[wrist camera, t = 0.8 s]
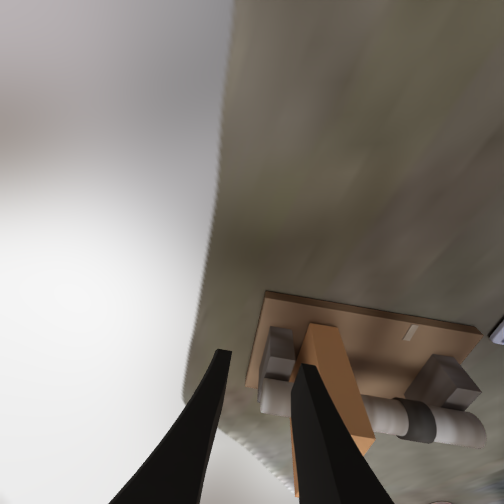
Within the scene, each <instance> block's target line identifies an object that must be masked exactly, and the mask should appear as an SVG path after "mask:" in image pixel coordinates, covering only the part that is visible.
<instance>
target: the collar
mask: <svg viewBox="0 0 504 504" xmlns="http://www.w3.org/2000/svg"><path fill="white" fill-rule="evenodd" d="M301 363H304V364H310V365H315V366H316V367H317V369H318V372H319V374H320V376H321V378H322V380H323V382H324V385H325V387H326V389H327V391H328V393H329V395H330V397H331V399H332V401H333V403H334V405H335V407H336V409H337V411H338V413H339V414H340V416H341V418H342V420H343V422H344V424H345V426H346V428H347V429H348V431H349V433H350V435H351V436H352V438H353V440H354V442H355V443H356V445H357V447H358V448H359V450H360V452H361V453H362V455H363V456H364V455H365V453H366V452H367V450H368V449H369V448H370V446H371V445H372V444H373V442H374V441H375V439H376V438H375V435H374V433H373V430H372V427H371V424H370V421H369V418H368V415H367V412H366V409H365V406H364V403H363V400H362V397H361V394H360V391H359V388H358V386H357V383H356V380H355V377H354V374H353V371H352V368H351V365H350V362H349V359H348V356H347V353H346V350H345V347H344V344H343V341H342V338H341V336H340V333H339V330H338V328H337V327H331V326H325V325H319V324H313V323H310V324H309V326H308V329H307V332H306V335H305V338H304V340H303V343H302V346H301V349H300V352H299V355H298V357H297V360H296V363H295V366H294V369H293V371H292V374H291V377H290V380H289V382H292V383H294V382H295V379H296V376H297V374H298V371H299V368H300V365H301ZM290 427H291V442H292V456H293V471H294V486H295V497H299V488H298V477H297V469H296V460H295V451H294V442H293V433H292V423H291V417H290Z"/></svg>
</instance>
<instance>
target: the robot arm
mask: <svg viewBox="0 0 504 504" xmlns="http://www.w3.org/2000/svg"><path fill="white" fill-rule="evenodd" d="M490 340H491V341H492V342H493V343H496V344H501V345H504V320H503V321H502V323H501V324H500V325H499V326H498V327H497V329H496V330H495V331H494V332H493V333H492V335H491V336H490ZM231 355H232V351H228V350H222V349H217V350H216V351H215V354H214V356H213V359H212V361H211V363H210V365H209V367H208V369H207V371H206V373H205V375H204V377H203V379H202V380H201V382H200V384H199V386H198V387H197V389H196V391H195V392H194V394H193V396H192V397H191V399H190V400H189V402H188V403H187V405H186V406H185V408H184V410H183V411H182V413H181V414H180V415H179V417H178V418H177V420H176V421H175V423H174V424H173V425H172V427H171V428H170V430H169V431H168V432H167V434H166V435H165V436H164V438H163V439H162V440H161V442H160V443H159V445H158V446H157V447H156V448H155V449H154V451H153V452H152V453H151V454H150V456H149V457H148V458H147V459H146V461H145V462H144V463H143V464H142V466H141V467H140V468H139V469H138V470H137V472H136V473H135V474H134V476H132V478H131V479H130V480H129V481H128V482H127V483H126V484H125V486H124V487H123V488H122V489H121V490H120V491H119V492H118V493H117V495H116V496H115V497H114V498H113V499H112V500H111V501H110V503H109V504H199V503H200V498H201V493H202V488H203V482H204V478H205V473H206V469H207V465H208V461H209V457H210V453H211V449H212V445H213V441H214V438H215V433H216V430H217V426H218V422H219V418H220V414H221V410H222V406H223V401H224V395H225V389H226V383H227V378H228V372H229V366H230V360H231ZM291 423H292V433H293V442H294V451H295V460H296V469H297V477H298V488H299V503H300V504H394V502H393V501H392V499H391V498H390V496H389V495H388V493H387V492H386V491H385V489H384V488H383V486H382V485H381V483H380V482H379V480H378V479H377V477H376V476H375V474H374V473H373V471H372V469H371V468H370V466H369V465H368V463H367V462H366V460H365V458H364V457H363V455H362V453H361V452H360V450H359V448H358V447H357V445H356V443H355V442H354V440H353V438H352V436H351V435H350V433H349V431H348V429H347V428H346V426H345V424H344V422H343V420H342V418H341V416H340V414H339V413H338V411H337V409H336V407H335V405H334V403H333V401H332V399H331V397H330V395H329V393H328V391H327V389H326V387H325V385H324V382H323V380H322V378H321V376H320V374H319V372H318V369H317V367H316V366H315V365H310V364H304V363H301V365H300V368H299V371H298V374H297V376H296V379H295V382H294V384H293V387H292V390H291Z"/></svg>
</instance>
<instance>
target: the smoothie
mask: <svg viewBox="0 0 504 504" xmlns="http://www.w3.org/2000/svg"><path fill="white" fill-rule="evenodd" d="M431 504H452V503H450V502H443V501H441V502H434V503H431Z"/></svg>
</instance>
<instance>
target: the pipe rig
mask: <svg viewBox="0 0 504 504" xmlns="http://www.w3.org/2000/svg"><path fill="white" fill-rule="evenodd" d="M310 323H313V324H319V325H325V326H331V327H337V328H338V330H339V333H340V336H341V338H342V341H343V344H344V347H345V350H346V353H347V356H348V359H349V362H350V365H351V368H352V371H353V374H354V377H355V380H356V383H357V386H358V388H359V391H360V394H361V397H362V400H363V403H364V406H365V409H366V412H367V415H368V418H369V421H370V424H371V427H372V430H373V431H374V432H380V433H386V434H392V435H396V436H397V437H398V438H400V439H404V440H410V441H416V442H422V443H428V444H430V443H432V442H433V441H434V442H440V443H446V444H452V445H458V446H464V447H470V448H476V449H481V448H483V447H484V446H485V444H486V440H487V437H486V432H485V429H484V426H483V424H482V423H481V421H480V420H479V419H478V418H477V417H476V416H475V415H474V414H472V413H470V412H465V410H466V409H467V408H468V406H469V405H470V404H471V403H472V402H473V401H474V400H475V399H476V398H477V397H478V396H479V395H480V394H481V393H482V392H481V390H480V389H479V388H478V387H477V385H476V384H475V383H474V382H473V380H472V379H471V378H470V377H469V375H468V374H467V373H466V372H465V370H464V369H463V368H462V367H461V365H460V364H461V363H462V362H463V361H464V359H465V358H466V357H467V356H468V354H469V353H470V352H471V351H472V350H473V348H474V347H475V346H476V345H477V343H478V342H479V341H480V340H481V339H482V337H483V336H484V335H483V334H482V333H481V332H480V331H479V330H478V329H477V328H476V327H473V326H467V325H461V324H455V323H449V322H444V321H438V320H432V319H426V318H420V317H415V316H409V315H403V314H397V313H391V312H385V311H380V310H374V309H368V308H362V307H356V306H351V305H345V304H339V303H333V302H327V301H322V300H316V299H310V298H304V297H298V296H293V295H287V294H281V293H275V292H269V291H265V296H264V300H263V305H262V309H261V314H260V318H259V322H258V327H257V331H256V336H255V340H254V344H253V349H252V353H251V358H250V362H249V366H248V371H247V375H246V382H245V387H250V388H256V389H258V400H257V402H259V403H260V411H261V413H267V414H273V415H279V416H285V417H291V390H292V387H293V384H294V383H292V382H289V380H290V377H291V374H292V371H293V369H294V366H295V363H296V360H297V357H298V355H299V352H300V349H301V346H302V343H303V340H304V338H305V335H306V332H307V329H308V326H309V324H310Z"/></svg>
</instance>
